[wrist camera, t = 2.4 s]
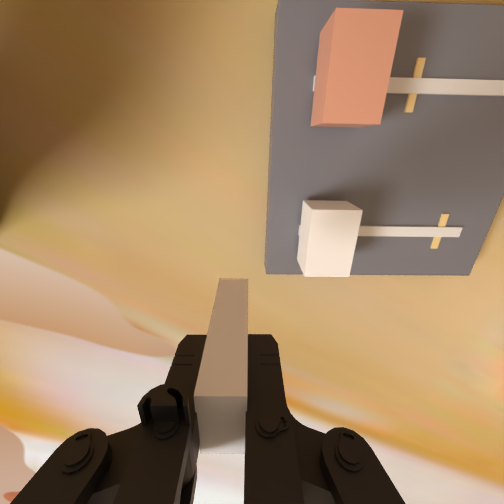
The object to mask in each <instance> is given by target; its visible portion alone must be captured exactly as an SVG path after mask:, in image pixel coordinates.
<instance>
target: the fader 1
mask: <svg viewBox="0 0 504 504" xmlns="http://www.w3.org/2000/svg"><path fill="white" fill-rule="evenodd" d="M402 15H403V10H391V9H361V8H336V9H335V10H334V12H333V13H332V15H331V16H330V18H329V20H328V21H327V23H326V24H325V26H324V27H323V29H322V30H321V32H320V37H319V47H318V57H317V67H316V77H315V87H314V96H313V106H312V116H311V126H312V127H366V126H373V125H380V123H381V118H382V113H383V109H384V104H385V99H386V94H387V89H388V84H389V79H390V74H391V69H392V64H393V59H394V55H395V50H396V45H397V40H398V35H399V30H400V25H401V20H402Z"/></svg>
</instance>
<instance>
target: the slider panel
mask: <svg viewBox="0 0 504 504" xmlns="http://www.w3.org/2000/svg"><path fill="white" fill-rule="evenodd" d="M336 8H361V9H391V10H403V15H402V20H401V25H400V30H399V35H398V40H397V45H396V50H395V55H394V59H393V64H392V69H391V74H390V79H389V84H388V89H387V94H386V99H385V104H384V109H383V113H382V118H381V123H380V125H373V126H366V127H312V126H311V116H312V106H313V96H314V87H315V77H316V67H317V57H318V47H319V37H320V32H321V30H322V29H323V27H324V26H325V24H326V23H327V21H328V20H329V18H330V16H331V15H332V13H333V12H334V10H335V9H336ZM503 195H504V5H483V4H454V3H424V2H395V1H365V0H278V5H277V10H276V14H275V35H274V58H273V81H272V104H271V127H270V151H269V174H268V197H267V220H266V243H265V270H266V274H303V272H302V270H301V268H300V265H299V263H298V261H297V254H298V244H299V234H300V224H301V214H302V205H303V200H329V201H348V202H349V203H351V204H353V205H355V206H356V207H358V208H360V209H362V210H363V212H362V217H361V222H360V226H359V231H358V236H357V241H356V246H355V251H354V256H353V261H352V266H351V271H350V275H461V276H469V275H470V272H471V270H472V268H473V265H474V263H475V261H476V258H477V256H478V254H479V251H480V249H481V247H482V244H483V242H484V240H485V237H486V235H487V233H488V230H489V228H490V226H491V223H492V221H493V219H494V216H495V214H496V212H497V209H498V207H499V205H500V202H501V200H502V198H503Z"/></svg>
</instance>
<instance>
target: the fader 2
mask: <svg viewBox="0 0 504 504" xmlns="http://www.w3.org/2000/svg"><path fill="white" fill-rule="evenodd" d="M362 212H363V210H362V209H360V208H358V207H356V206H355V205H353V204H351V203H349V202H348V201H329V200H303V205H302V214H301V224H300V234H299V244H298V254H297V261H298V263H299V265H300V268H301V270H302V272H303V275H304V277H349V276H350V271H351V266H352V261H353V256H354V251H355V246H356V241H357V236H358V231H359V226H360V222H361V217H362Z"/></svg>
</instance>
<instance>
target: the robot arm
mask: <svg viewBox="0 0 504 504" xmlns="http://www.w3.org/2000/svg"><path fill="white" fill-rule="evenodd" d="M137 407H138V411H139V415H140V419H141V423H140V424H138V425H136V426H134V427H132V428H130V429H127V430H124V431H121V432H118V433H114V434H111V435H108V436H106V433H105V432H103V431H102V430H100V429H94V428H89V429H86V430H83V431H79V432H77V433H76V434H74V435H73V436H71V437H69V438H68V439H66V440H65V441H64V442H63V443H62V444H61V445H60V446H59V447H58V448H57V449H56V450H55V451H54V453H53V454H52V455H51V456H50V457H49V458H48V460H47V461H46V462H45V463H44V464H43V466H42V467H41V468H40V469H39V470H38V471H37V473H36V474H35V475H34V476H33V477H32V478H31V480H30V481H29V482H28V483H27V484H26V486H25V487H24V488H23V489H22V491H20V493H19V494H18V495H17V496H16V497H15V498H14V500H13V501H12V502H11V503H10V504H193V500H194V493H195V487H196V480H197V465H196V463H197V457H198V451H199V449H200V454H245V478H244V504H405V502H404V501H403V499H402V497H401V496H400V494H399V492H398V491H397V489H396V488H395V486H394V484H393V483H392V481H391V479H390V478H389V476H388V475H387V473H386V471H385V470H384V468H383V466H382V465H381V463H380V461H379V460H378V458H377V457H376V455H375V453H374V452H373V450H372V448H371V447H370V446H369V445H368V443H367V442H366V441H365V440H364V438H363V437H361V436H360V435H359V434H357V433H356V432H354V431H353V430H350V429H347V428H344V427H341V428H333V429H331V430H330V431H328V432H327V433H326V434H325V433H322V432H319V431H317V430H314V429H311V428H308V427H306V426H304V425H302V424H301V423H300V422H298V421H297V420H296V419H295V418H294V417H293V416H292V415H291V413H290V411H289V409H288V407H287V404H286V399H285V392H284V385H283V378H282V371H281V365H280V357H279V350H278V343H277V342H276V341H275V339H274V338H273V336H272V335H271V334H248V279H219V284H218V288H217V293H216V297H215V302H214V306H213V311H212V315H211V320H210V324H209V329H208V333H207V335H186V336H185V338H184V339H183V340H182V341H181V342H180V343H179V345H178V348H177V350H176V353H175V357H174V359H173V362H172V366H171V367H170V370H169V373H168V376H167V379H166V382H165V384H163V385H159V386H157V387H155V388H153V389H151V390H150V391H149V392H148V393H147V394H145V395H144V396H143V397H142V399H141V401H140V402H139V404H138V405H137Z"/></svg>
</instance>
